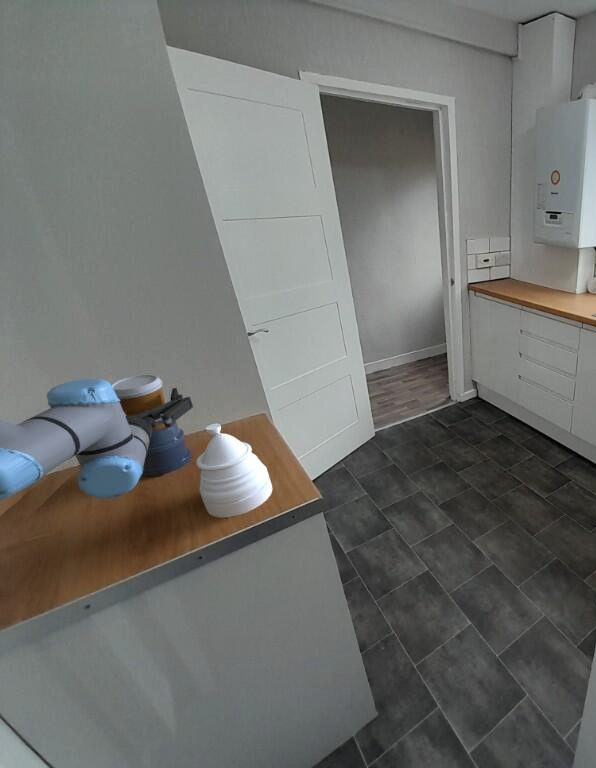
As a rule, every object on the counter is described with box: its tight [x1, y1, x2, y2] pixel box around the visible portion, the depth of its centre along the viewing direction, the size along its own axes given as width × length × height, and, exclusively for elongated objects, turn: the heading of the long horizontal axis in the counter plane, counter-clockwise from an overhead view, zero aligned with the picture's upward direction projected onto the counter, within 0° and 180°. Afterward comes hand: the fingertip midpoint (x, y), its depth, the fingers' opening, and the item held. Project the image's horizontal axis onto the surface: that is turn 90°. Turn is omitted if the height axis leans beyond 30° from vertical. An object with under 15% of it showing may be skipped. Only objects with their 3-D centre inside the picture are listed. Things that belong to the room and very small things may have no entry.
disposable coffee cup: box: [110, 373, 166, 432], centre depth 97 cm, size 10×10×12 cm
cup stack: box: [142, 420, 193, 477], centre depth 102 cm, size 10×10×11 cm
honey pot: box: [196, 423, 273, 518], centre depth 89 cm, size 13×13×18 cm
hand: (139, 399), depth 95 cm, fingers open, 13 cm apart
